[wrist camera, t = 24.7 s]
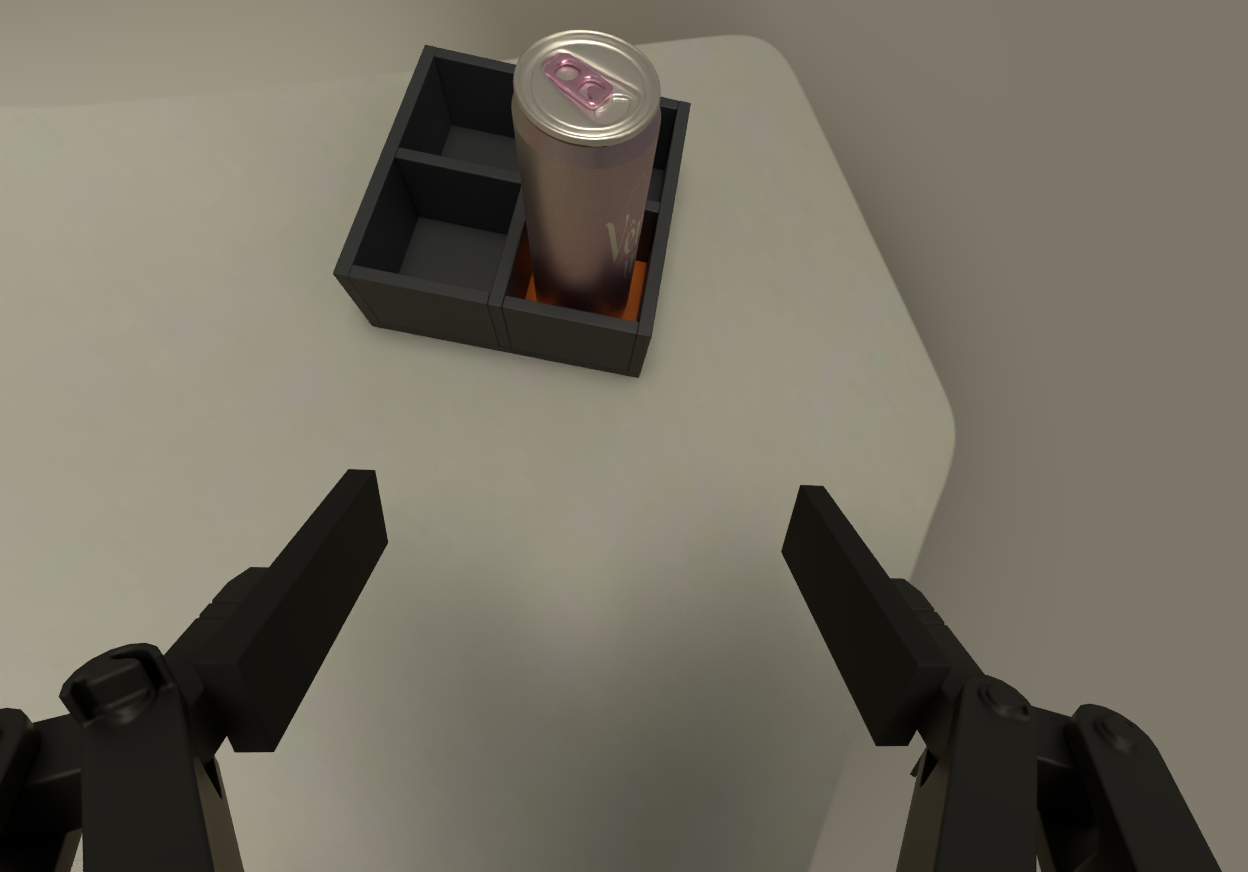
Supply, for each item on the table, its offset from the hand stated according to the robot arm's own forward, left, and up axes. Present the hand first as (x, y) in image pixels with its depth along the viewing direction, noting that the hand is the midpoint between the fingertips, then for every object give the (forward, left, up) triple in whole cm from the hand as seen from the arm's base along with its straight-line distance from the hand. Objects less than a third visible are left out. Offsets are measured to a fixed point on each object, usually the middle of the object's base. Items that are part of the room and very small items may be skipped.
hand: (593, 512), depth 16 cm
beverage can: (+3, -16, -14) cm, 21 cm away
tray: (+7, -20, -14) cm, 26 cm away
